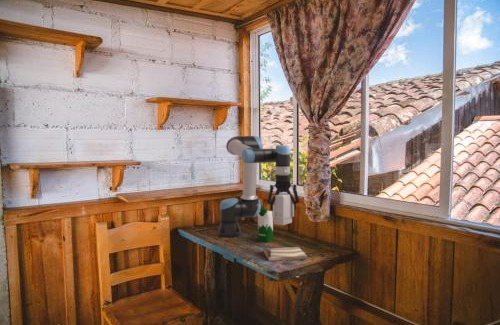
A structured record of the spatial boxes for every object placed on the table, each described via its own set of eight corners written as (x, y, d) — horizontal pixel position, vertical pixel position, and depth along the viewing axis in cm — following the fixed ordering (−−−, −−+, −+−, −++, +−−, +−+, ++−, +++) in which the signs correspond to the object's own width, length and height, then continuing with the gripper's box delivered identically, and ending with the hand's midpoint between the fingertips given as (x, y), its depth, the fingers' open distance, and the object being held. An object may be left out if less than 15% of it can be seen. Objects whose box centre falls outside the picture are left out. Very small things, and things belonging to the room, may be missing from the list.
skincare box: (282, 221, 197) (282, 192, 196) (292, 222, 192) (292, 193, 191) (273, 223, 190) (273, 194, 190) (283, 225, 186) (283, 195, 185)
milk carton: (255, 241, 221) (255, 208, 220) (263, 237, 229) (263, 206, 228) (268, 243, 216) (267, 210, 215) (275, 239, 224) (275, 207, 223)
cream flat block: (262, 251, 200) (262, 242, 200) (298, 249, 203) (298, 240, 202) (267, 260, 184) (267, 251, 184) (307, 258, 187) (307, 249, 187)
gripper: (263, 175, 185) (263, 218, 186) (305, 174, 188) (305, 217, 189) (260, 174, 192) (261, 215, 193) (301, 173, 195) (301, 214, 196)
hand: (283, 216), depth 191 cm, fingers closed on skincare box, 10 cm apart
